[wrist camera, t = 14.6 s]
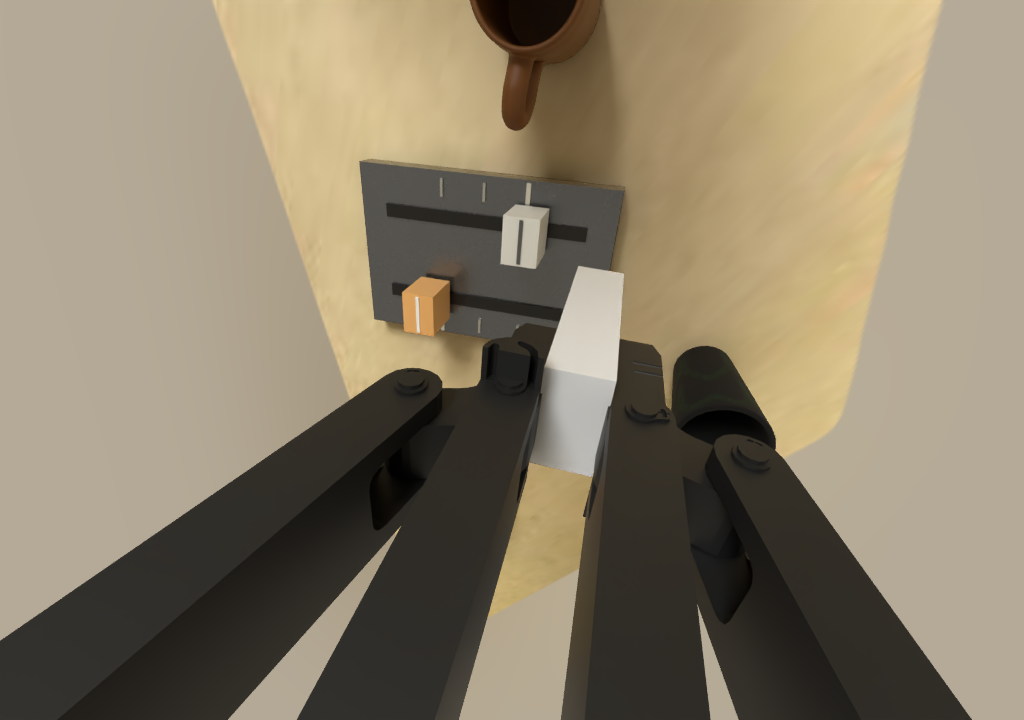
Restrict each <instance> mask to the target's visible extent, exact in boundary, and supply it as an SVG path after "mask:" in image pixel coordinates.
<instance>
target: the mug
mask: <svg viewBox="0 0 1024 720" xmlns="http://www.w3.org/2000/svg"><path fill="white" fill-rule="evenodd" d="M470 3H471V6H472V10H473V12H474V15H475V17H476V19H477V21H478V23H479V25H480V27H481V28H482V29H483V31H484V32H485V33H486V35H487V36H488V37H489V38H490V39H491V40H492V41H494V42H495V43H496V44H497V45H498V46H499V47H500V48H502V49H503V50H505V51H506V52H508V53H509V62H508V67H507V72H506V76H505V81H504V87H503V95H502V118H503V120H504V122H505V125H506V126H507V127H508V128H509V129H512V130H515V131H517V130H521V129H523V128H524V127H525V126H526V125H527V124H528V122H529V120H530V118H531V115H532V112H533V109H534V105H535V101H536V96H537V91H538V85H539V79H540V75H541V71H542V68H543V65H544V64H555V63H559V62H562V61H564V60H566V59H568V58H570V57H572V56H573V55H574V54H576V53H577V52H578V51H579V50H580V49H581V48H582V47H583V46H584V44H585V43H586V42H587V41H588V39H589V37H590V36H591V34H592V32H593V30H594V28H595V25H596V22H597V20H598V16H599V12H600V5H601V0H470Z"/></svg>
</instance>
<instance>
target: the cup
mask: <svg viewBox="0 0 1024 720" xmlns="http://www.w3.org/2000/svg"><path fill="white" fill-rule="evenodd" d="M671 411H672V412H673V414H674V417H675V419H676V425H677V427H678V428H679V429H681V430H682V431H684V432H685V433H687V434H689V435H691V436H692V437H694V438H697V439H699V440H701V441H704V442H706V443H708V444H711V445H713V446H714V444H715V442H716V439H718V438H720V437H721V436H723V435H731V434H737V435H743V436H748V437H751V438H754V439H757V440H759V441H761V442H763V443H765V444H766V445H768V446H769V447H771V448H772V449H774V450H775V449H776V438H775V435H774V432H773V430H772V428H771V426H770V424H769V423H768V421H767V419H766V418H765V416H764V414H763V413H762V411H761V409H760V408H759V406H758V404H757V403H756V401H755V399H754V398H753V396H752V394H751V393H750V391H749V389H748V388H747V386H746V384H745V383H744V381H743V379H742V378H741V376H740V374H739V373H738V371H737V369H736V368H735V366H734V364H733V363H732V361H731V359H730V358H729V357H728V355H727V354H726V353H724V352H723V351H722V350H720V349H717V348H715V347H710V346H699V347H695V348H692V349H690V350H687V351H686V352H684V353H683V354H682V355H681V356H680V357H679V358H678V359H677V361H676V363H675V365H674V371H673V390H672V409H671Z"/></svg>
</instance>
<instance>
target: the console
mask: <svg viewBox="0 0 1024 720" xmlns="http://www.w3.org/2000/svg"><path fill="white" fill-rule="evenodd" d="M359 162H360V173H361V183H362V194H363V204H364V214H365V225H366V235H367V246H368V256H369V267H370V277H371V288H372V298H373V308H374V319H377V320H383V321H388V322H394V323H400V324H404V319H403V302H402V292H403V291H404V290H405V289H407V288H408V287H409V286H410V285H412V284H413V283H414V282H415V281H416V280H418V279H419V278H420V277H427V278H433V279H440V280H446V281H450V318H449V319H448V321H447V322H446V323H445V324H444V325H443V326H442V327H441V329H440V331H446V332H451V333H457V334H463V335H469V336H474V337H480V338H486V339H492V340H494V339H497V338H505V337H512V335H513V333H514V331H515V329H517V328H519V327H520V326H522V325H524V324H525V323H530V324H536V325H541V326H546V327H551V328H558V325H559V322H560V319H561V316H562V313H563V310H564V307H565V304H566V301H567V298H568V295H569V292H570V289H571V286H572V283H573V280H574V277H575V274H576V272H577V269H578V266H582V267H588V268H594V269H600V270H606V271H609V270H610V265H611V259H612V254H613V249H614V243H615V238H616V232H617V227H618V222H619V216H620V211H621V205H622V200H623V194H624V188H625V187H620V186H611V185H602V184H593V183H584V182H574V181H565V180H556V179H547V178H538V177H529V176H520V175H511V174H502V173H493V172H484V171H475V170H466V169H457V168H448V167H438V166H429V165H420V164H411V163H402V162H393V161H384V160H375V159H368V160H363V161H359ZM515 205H524V206H533V207H541V208H549V219H548V228H547V238H546V247H545V254H544V256H543V258H542V259H541V261H540V263H539V264H538V266H537V268H536V269H532V268H525V267H518V266H511V265H504V264H501V246H502V228H503V215H504V214H505V213H506V212H508V211H509V210H510V209H511V208H512V207H513V206H515Z"/></svg>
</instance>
